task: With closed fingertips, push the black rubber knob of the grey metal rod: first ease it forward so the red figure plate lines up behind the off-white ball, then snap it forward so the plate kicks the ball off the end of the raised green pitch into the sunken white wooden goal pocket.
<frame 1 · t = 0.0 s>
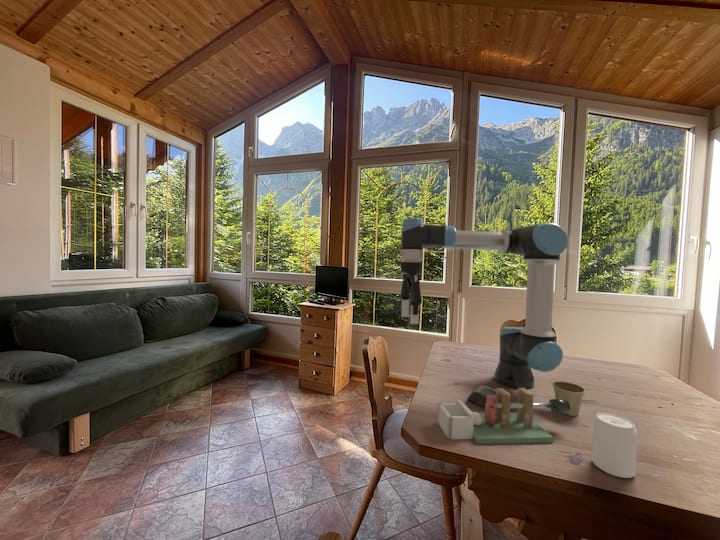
hand: (409, 320, 111), 28 cm above the table, fingers open, 13 cm apart
rod: (527, 409, 91), point 6 cm above the table, slide at 0.0 cm
goal: (454, 430, 89), on the table
pitch: (501, 429, 91), on the table
rock: (488, 404, 108), on the table
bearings: (513, 424, 91), resting on pitch
ball: (476, 418, 90), point 3 cm above the table, touching pitch
flower pot: (567, 412, 103), on the table
beverage can: (612, 469, 74), on the table
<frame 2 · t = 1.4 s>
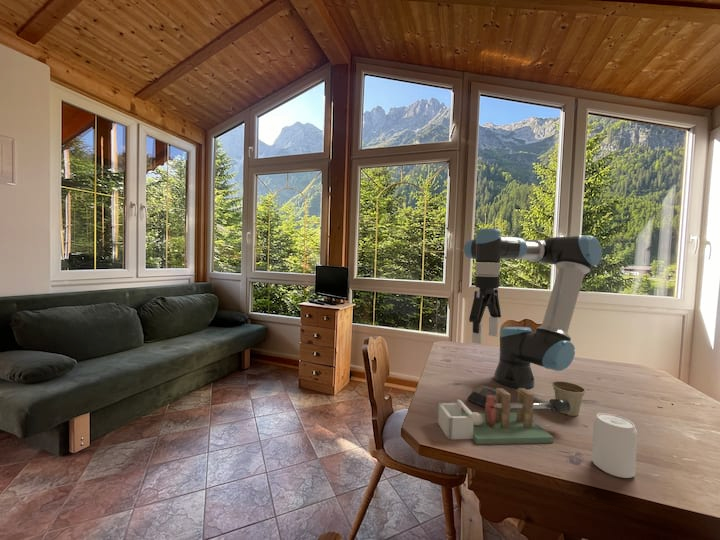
hand: (485, 339, 102), 24 cm above the table, fingers open, 13 cm apart
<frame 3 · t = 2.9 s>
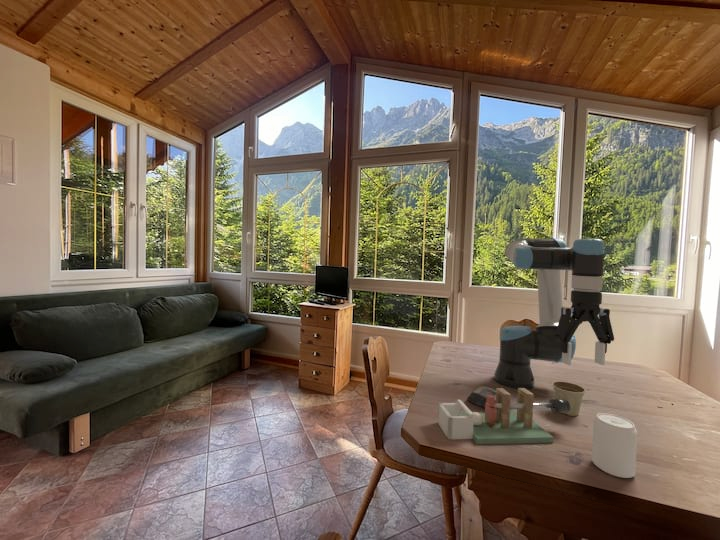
hand: (582, 363, 92), 20 cm above the table, fingers open, 10 cm apart
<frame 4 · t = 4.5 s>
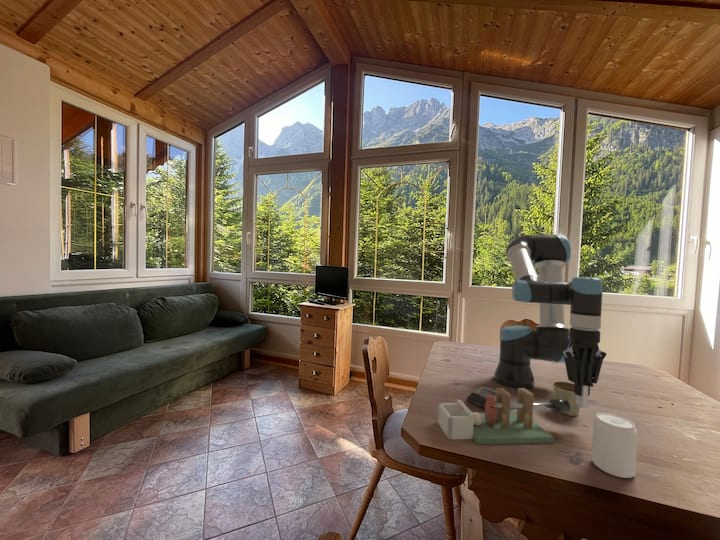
hand: (581, 405, 92), 7 cm above the table, fingers closed
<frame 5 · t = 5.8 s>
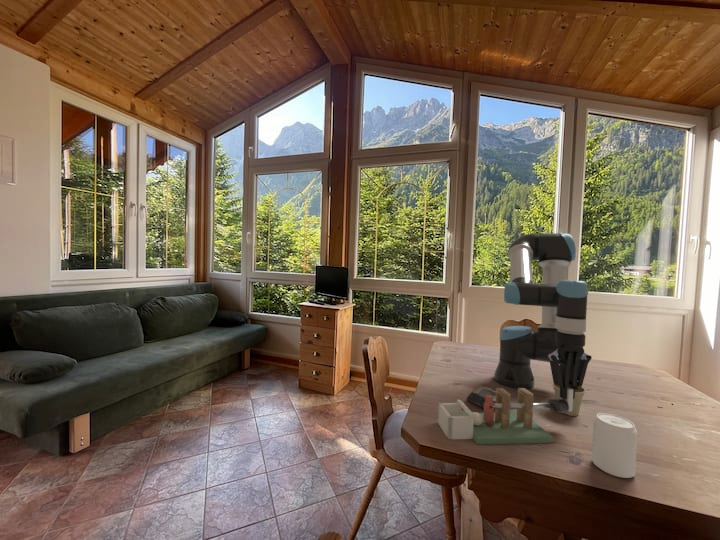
hand: (566, 408, 92), 6 cm above the table, fingers closed
rod: (525, 409, 91), point 6 cm above the table, slide at 0.4 cm, touching gripper
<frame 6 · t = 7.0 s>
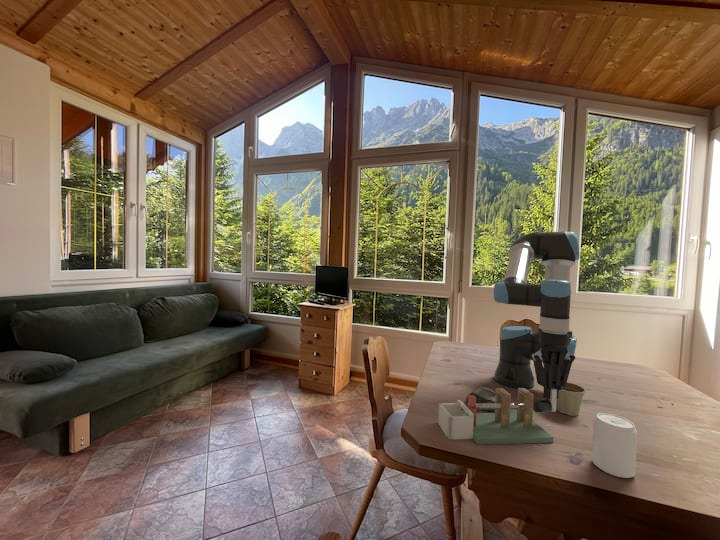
hand: (550, 409, 92), 6 cm above the table, fingers closed
rod: (508, 409, 91), point 6 cm above the table, slide at 5.7 cm, touching gripper
ball: (452, 424, 89), point 2 cm above the table, tilted 126°
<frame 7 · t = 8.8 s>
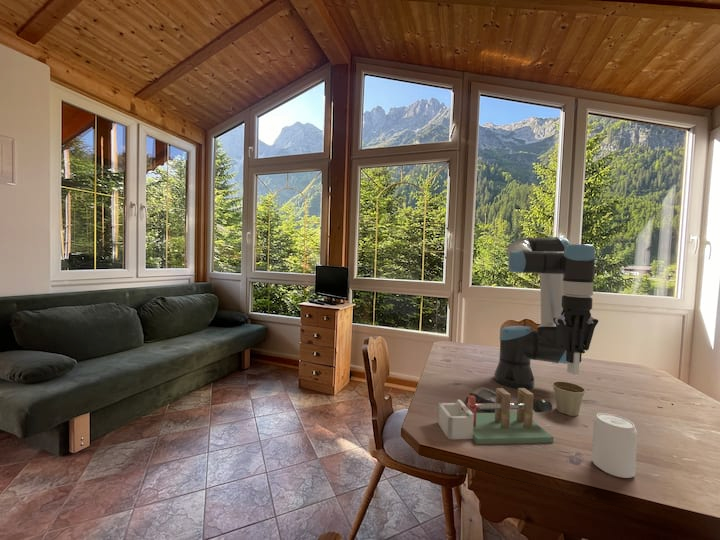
hand: (572, 372, 93), 17 cm above the table, fingers closed
rod: (508, 409, 91), point 6 cm above the table, slide at 5.7 cm
ball: (460, 424, 89), point 2 cm above the table, tilted 162°
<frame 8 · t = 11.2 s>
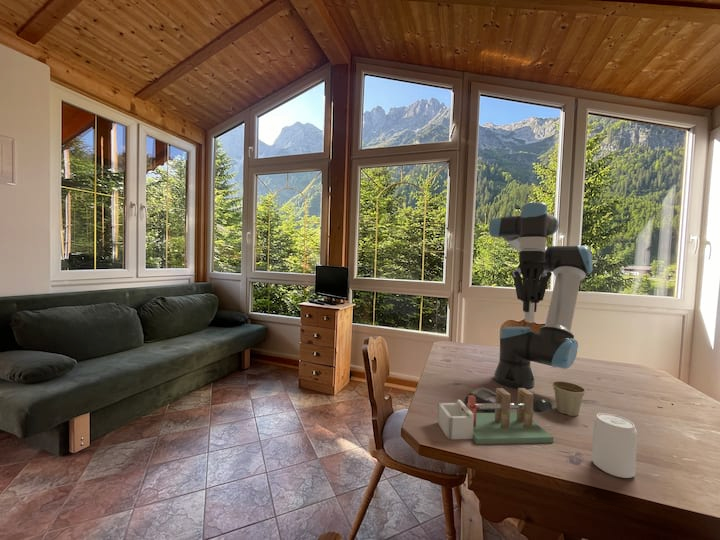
hand: (529, 321, 101), 30 cm above the table, fingers closed
ball: (458, 424, 89), point 2 cm above the table, tilted 179°
at the end: ball inside the target area on the goal (1.0 cm from its centre), point 1.8 cm above the goal's base; rod slide at 5.7 cm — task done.
